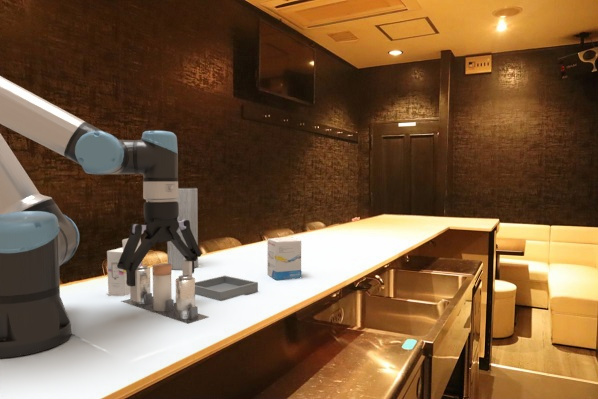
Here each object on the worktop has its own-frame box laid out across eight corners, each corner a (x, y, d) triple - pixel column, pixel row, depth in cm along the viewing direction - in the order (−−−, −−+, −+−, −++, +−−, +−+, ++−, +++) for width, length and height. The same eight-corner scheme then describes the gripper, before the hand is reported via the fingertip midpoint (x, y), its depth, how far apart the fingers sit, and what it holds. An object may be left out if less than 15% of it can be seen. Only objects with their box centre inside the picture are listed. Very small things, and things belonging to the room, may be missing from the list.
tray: (220, 302, 104) (220, 292, 104) (187, 293, 112) (187, 284, 112) (257, 291, 114) (257, 282, 114) (224, 284, 122) (224, 275, 122)
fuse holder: (187, 325, 87) (187, 281, 87) (120, 302, 104) (120, 265, 103) (209, 318, 92) (209, 277, 91) (141, 297, 108) (141, 262, 108)
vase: (161, 269, 143) (160, 188, 142) (177, 263, 153) (176, 187, 151) (189, 270, 140) (188, 188, 139) (203, 265, 150) (202, 187, 149)
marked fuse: (159, 312, 95) (159, 267, 94) (149, 308, 97) (148, 265, 97) (175, 308, 98) (175, 264, 98) (164, 304, 101) (164, 262, 100)
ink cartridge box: (126, 288, 118) (126, 234, 117) (143, 289, 117) (142, 235, 116) (106, 296, 109) (105, 239, 109) (124, 297, 108) (123, 239, 108)
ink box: (302, 278, 130) (302, 240, 130) (275, 280, 127) (275, 241, 127) (292, 272, 138) (292, 236, 138) (266, 274, 135) (266, 237, 135)
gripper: (117, 203, 85) (119, 309, 86) (215, 198, 104) (216, 285, 105) (98, 202, 89) (100, 303, 90) (195, 198, 109) (196, 281, 110)
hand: (162, 293), depth 98 cm, fingers open, 13 cm apart
